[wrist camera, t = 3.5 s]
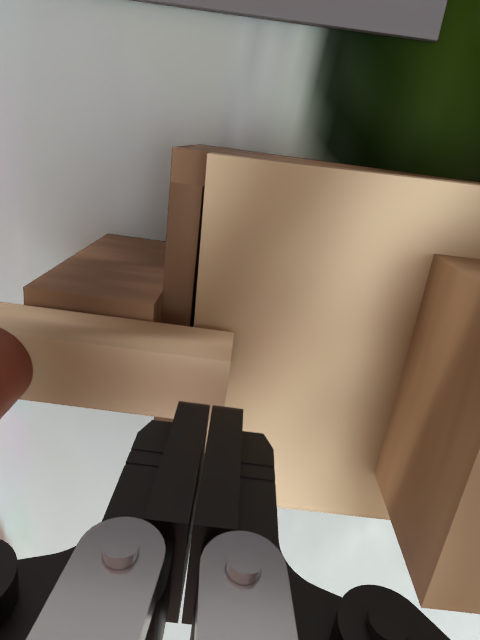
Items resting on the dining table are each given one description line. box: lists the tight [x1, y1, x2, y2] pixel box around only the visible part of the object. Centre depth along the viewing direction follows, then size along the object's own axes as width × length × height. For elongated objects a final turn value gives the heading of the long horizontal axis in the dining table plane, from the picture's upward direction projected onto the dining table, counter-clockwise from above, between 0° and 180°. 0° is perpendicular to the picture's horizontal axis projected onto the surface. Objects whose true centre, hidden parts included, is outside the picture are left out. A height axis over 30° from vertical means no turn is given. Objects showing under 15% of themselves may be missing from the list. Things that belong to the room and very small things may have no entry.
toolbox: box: [23, 145, 480, 422], centre depth 19 cm, size 20×12×8 cm, turn 83°
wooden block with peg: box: [0, 302, 234, 423], centre depth 12 cm, size 8×2×6 cm, turn 83°
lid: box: [194, 152, 480, 614], centre depth 13 cm, size 16×12×6 cm
